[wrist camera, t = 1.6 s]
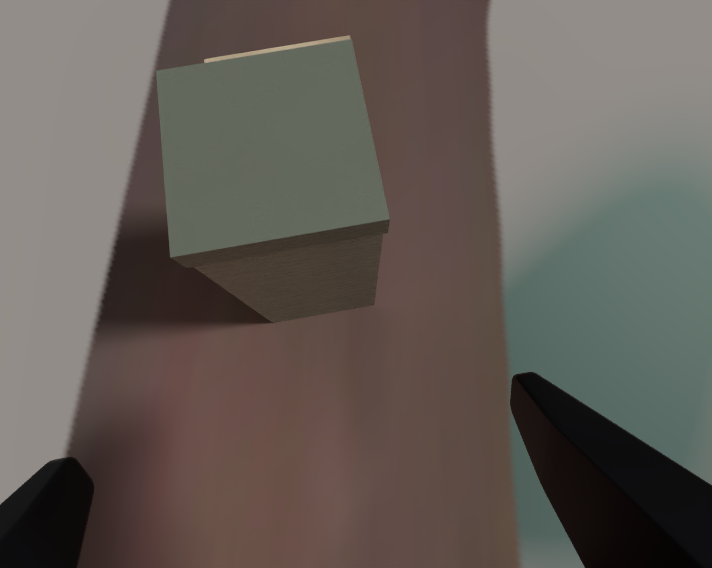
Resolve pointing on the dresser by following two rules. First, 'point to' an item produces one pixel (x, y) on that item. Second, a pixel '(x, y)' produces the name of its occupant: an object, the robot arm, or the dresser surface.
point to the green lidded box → (275, 179)
